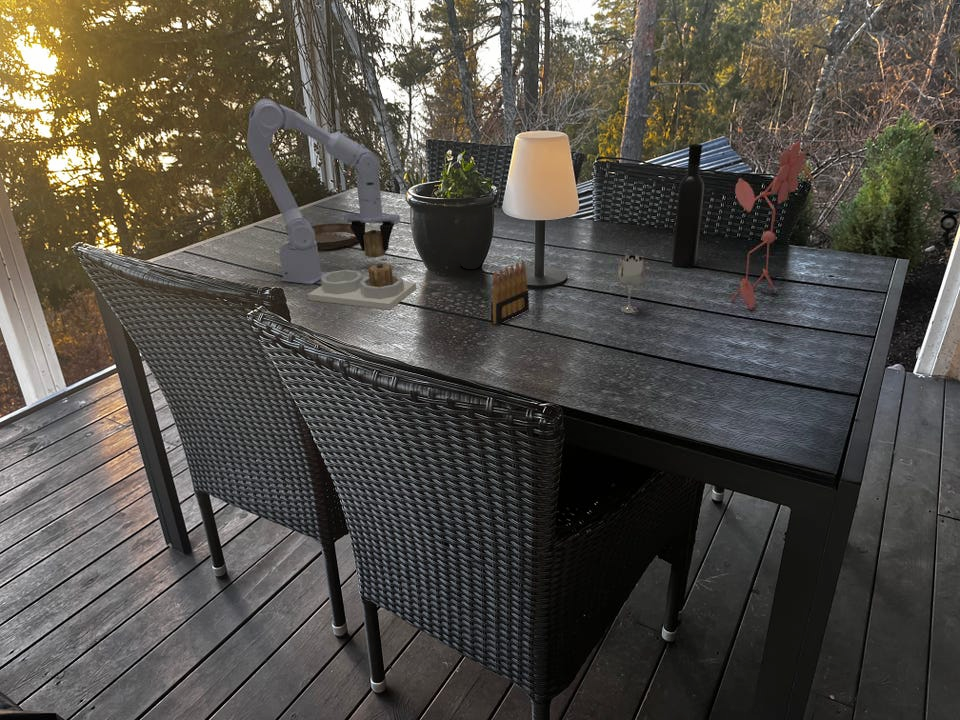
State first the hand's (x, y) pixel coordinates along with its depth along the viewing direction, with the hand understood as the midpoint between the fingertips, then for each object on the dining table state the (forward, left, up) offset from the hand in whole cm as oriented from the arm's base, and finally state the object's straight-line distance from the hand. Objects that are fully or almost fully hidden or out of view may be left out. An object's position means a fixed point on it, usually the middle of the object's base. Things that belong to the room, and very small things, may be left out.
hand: (375, 249), depth 183 cm
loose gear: (0, 0, -2) cm, 2 cm away
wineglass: (+69, -10, -5) cm, 70 cm away
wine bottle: (+77, +24, -5) cm, 81 cm away
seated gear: (+12, -18, -4) cm, 22 cm away
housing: (+6, -18, -5) cm, 20 cm away
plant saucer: (-26, +18, -6) cm, 32 cm away
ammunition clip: (+45, -21, -6) cm, 50 cm away
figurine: (+98, +2, -5) cm, 98 cm away
